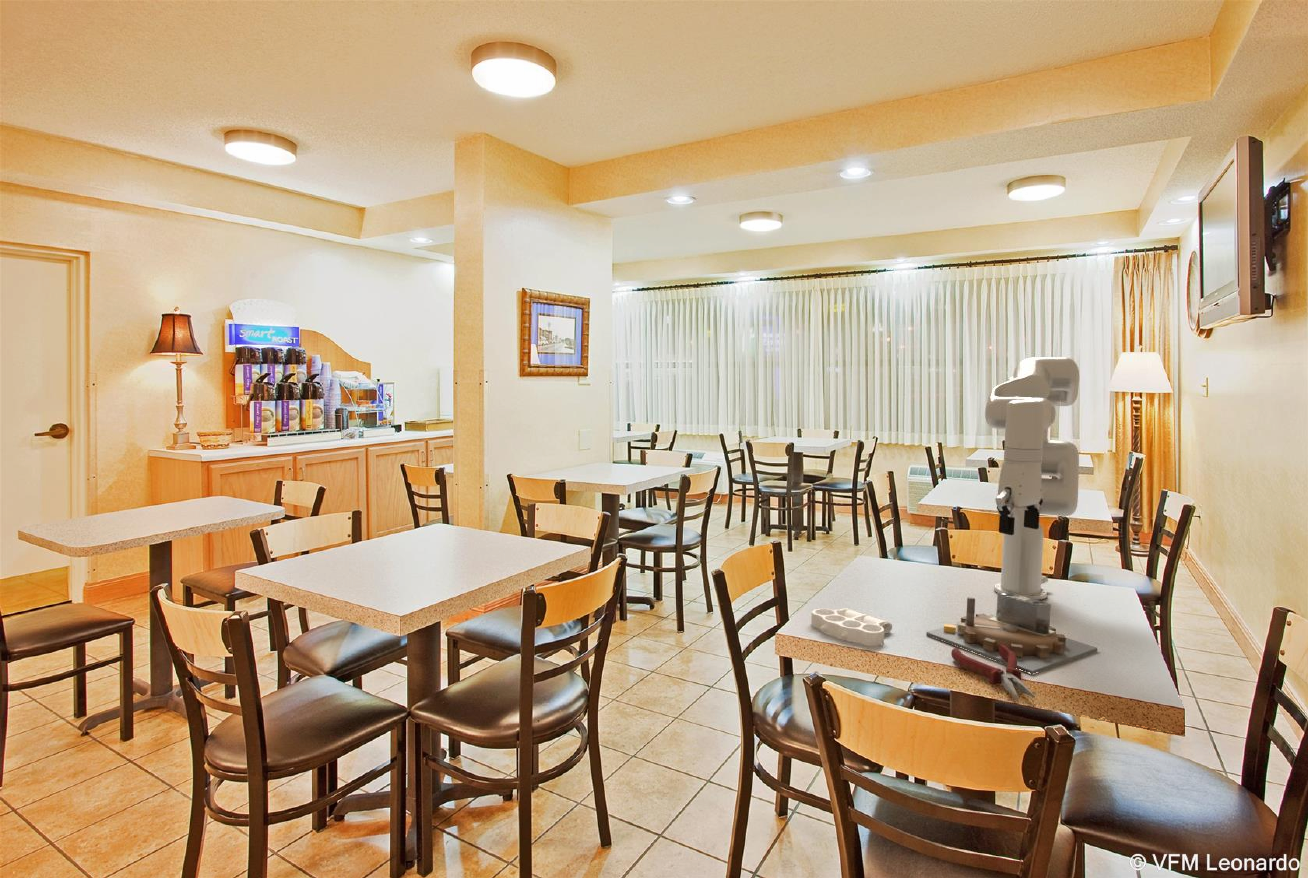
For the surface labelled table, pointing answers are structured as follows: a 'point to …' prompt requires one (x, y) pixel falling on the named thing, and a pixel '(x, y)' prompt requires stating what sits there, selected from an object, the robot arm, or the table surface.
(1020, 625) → the chain link
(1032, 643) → the sprocket wheel
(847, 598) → the table surface
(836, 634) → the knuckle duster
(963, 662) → the pliers
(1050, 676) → the table surface
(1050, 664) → the index base plate
